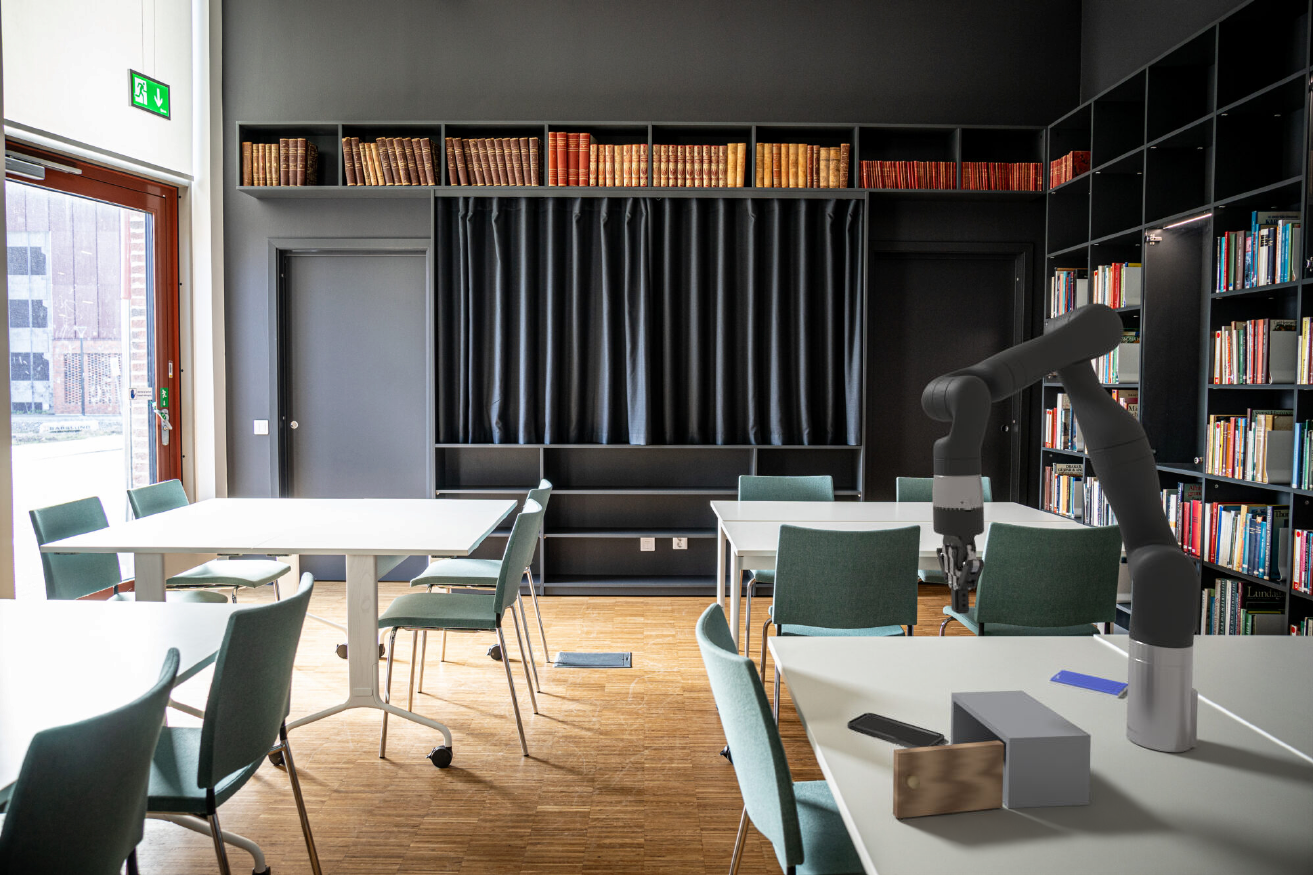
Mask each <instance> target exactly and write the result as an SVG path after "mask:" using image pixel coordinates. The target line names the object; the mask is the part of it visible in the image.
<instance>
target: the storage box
mask: <svg viewBox="0 0 1313 875" xmlns="http://www.w3.org/2000/svg"><path fill="white" fill-rule="evenodd" d="M950 697H951V698H950V699H951V700H950V704H951V706H950V745H953V744H965V743H976V742H988V741H1000V742H1001V743H1003V744H1004V755H1003V805H1004V806H1005V807H1006V808H1007V809H1018V808H1021V809H1023V808H1038V807H1039V808H1042V807H1063V806H1086V805H1090V788H1091V787H1090V785H1091V784H1090V781H1091V779H1090V776H1091V742H1092V741H1091V738H1092V734H1090V733H1088V732H1087V731H1085V730H1084V729H1082V728H1080V727H1078V726H1077V725H1076V724H1075V723H1073V722H1071V721H1070V720H1068V719H1067V718H1065V717H1063V716H1062V715H1061V714H1059V713H1058V712H1056V711H1054V710H1053V709H1052V708H1050V707H1048V706H1047V705H1046V704H1044V703H1042V702H1041V701H1040V700H1037V699H1035V698H1034V697H1033V696H1031V695H1030V694H1028V693H1027V692H1025V691H1023V690H997V691H970V692H969V691H967V692H965V691H963V692H960V691H959V692H958V691H957V692H951V696H950Z"/></svg>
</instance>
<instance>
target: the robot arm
mask: <svg viewBox="0 0 1313 875" xmlns="http://www.w3.org/2000/svg"><path fill="white" fill-rule="evenodd" d="M1123 325H1124V324H1123V320H1122V319H1121V317H1120V315H1119V314H1118V312H1117V311H1116V310H1115V309H1114V308H1112V307H1111V306H1109V305H1107V304H1104V303H1099V302H1097V303H1096V302H1094V303H1088V304H1085V305H1082V306H1079V307H1077V308H1074V309H1072V310H1069V311H1068V312H1064V313H1061V314H1060V315H1058V316H1057V315H1056V316H1055V317H1053V318H1051V319H1050V320H1049V321H1048V322H1047V324H1046V325H1045V327H1044V330H1043V335H1041V336H1038V337H1036V338H1033V339H1030V340H1028V341H1025V342H1022V343H1020V344H1017V345H1014V346H1012V347H1009V348H1007V349H1005V350H1003V351H1000V352H998V353H996V354H993V355H992V356H990V357H988V358H985V359H984V360H982V361H981V362H979V363H977V364H974V365H972V366H969V367H965V368H964V367H963V368H962V369H958V370H955V371H952V372H949V373H946V374H944V375H941V376H938V377H936V378H935V379H933V380H932V381H930V383H928V384H927V385H926V387H925V388H924V390H923V392H922V396H921V406H922V409H923V411H924V413H925V414H926V415H927V416H928V417H929V418H931V419H932V420H935V421H938V422H952V424H951V425H952V426H951V428H950V432H949V434H948V435H947V436H944V437H941V438H939V439H937V440H936V441H935V442H934V444H933V484H932V522H933V523H932V524H933V532H935V534H938V535H940V536H941V535H942V545H941V546H942V547H936V555H937V556H936V557H937V559H938V562H939V565H940V569H941V572H942V576H943V579H944V581H945V582H948V587H949V588H950V592H951V593H950V596H951V598H950V599H951V611H952V612H953V613H956V614H959V615H960V614H963V615H964V614H968V613H969V612H970V597H969V596H970V593H969V590H971V589H976V588H977V585H978V583H979V580H980V578H981V575H982V573H983V570H984V567H985V562H984V559H982V558H981V559H980V558H979V559H978V558H977V545H976V540H975V537H976V536H978V535H982V534H983V533H984V532H985V513H984V512H985V510H984V509H985V505H984V500H985V499H984V484H983V480H982V463H981V462H982V455H981V454H982V451H981V449H982V444H983V441H984V439H985V434H986V431H987V430H986V429H987V425H988V422H989V418H990V414H991V409H992V403H997V402H1000V401H1003V400H1005V399H1007V398H1009V397H1011V396H1012V395H1013V396H1014V395H1015V394H1017V393H1019V392H1020V391H1022V390H1024V389H1026V388H1028V387H1029V386H1032V385H1033V384H1036V383H1037V382H1038V381H1041V380H1042V379H1044V378H1046V377H1048V376H1050V375H1052V374H1053V373H1056V375H1057V377H1058V379H1059V382H1060V383H1061V385H1062V387H1063V389H1064V390H1063V391H1065V393H1066V397H1067V398H1068V401H1069V402H1070V407H1071V408H1072V411H1073V414H1074V416H1075V419H1076V421H1077V423H1078V424H1077V425H1078V426H1079V429H1080V432H1081V435H1082V438H1083V441H1084V446H1085V448H1086V451H1087V454H1088V458H1089V460H1090V463H1091V466H1092V469H1093V472H1094V474H1095V476H1096V479H1097V481H1098V484H1099V486H1100V488H1101V491H1102V493H1103V494H1104V496H1105V498H1106V501H1107V503H1108V505H1109V507H1110V508H1111V511H1112V513H1113V515H1114V516H1115V519H1116V522H1117V524H1118V527H1119V532H1120V535H1121V539H1122V540H1121V541H1122V543H1123V548H1124V551H1125V557H1126V563H1127V568H1128V573H1129V577H1130V578H1131V581H1132V590H1131V591H1132V592H1131V593H1132V594H1131V614H1130V615H1131V616H1130V620H1129V622H1128V623H1129V624H1128V657H1127V658H1128V660H1127V662H1128V664H1127V684H1128V689H1127V695H1126V696H1127V699H1126V700H1127V701H1126V730H1125V731H1126V737H1127V738H1128V740H1130V741H1131V742H1133V743H1134V744H1136V745H1138V746H1142V747H1143V748H1147V749H1151V750H1155V751H1161V752H1169V753H1182V752H1186V751H1189V750H1190V749H1191V748H1197V741H1198V740H1197V739H1198V736H1197V735H1198V733H1197V732H1198V705H1199V704H1198V702H1199V700H1198V699H1199V698H1198V697H1199V693H1198V692H1199V691H1198V690H1197V689H1195V688H1194V687H1193V679H1194V678H1193V674H1194V673H1193V672H1194V671H1193V670H1194V642H1195V641H1194V639H1195V638H1194V637H1195V633H1196V629H1197V626H1198V609H1199V589H1200V588H1199V586H1200V585H1199V584H1200V583H1199V574H1198V569H1197V567H1196V565H1195V563H1194V562H1193V561H1192V560H1191V558H1189V556H1187V554H1185V553H1184V551H1183V550H1182V548H1181V546H1180V544H1179V542H1178V540H1177V538H1176V536H1175V534H1174V532H1173V530H1172V529H1173V528H1172V527H1171V525H1170V523H1169V521H1168V518H1167V515H1166V512H1165V509H1164V506H1163V505H1164V504H1163V500H1162V499H1163V498H1162V493H1161V490H1162V489H1161V484H1160V479H1159V478H1160V477H1159V473H1158V469H1157V464H1156V460H1155V457H1154V454H1153V451H1152V448H1151V444H1150V442H1149V439H1148V436H1147V434H1146V431H1145V429H1144V427H1143V425H1142V424H1141V422H1140V421H1139V420H1138V419H1137V418H1136V417H1135V415H1133V414H1132V413H1131V412H1130V411H1129V410H1128V409H1127V408H1125V407H1124V406H1123V405H1122V404H1121V403H1119V402H1118V401H1117V400H1116V399H1114V397H1113V396H1111V394H1110V393H1108V392H1107V390H1106V389H1105V388H1104V386H1103V385H1102V383H1101V382H1100V380H1099V377H1098V376H1097V373H1096V371H1095V369H1094V366H1093V364H1092V360H1093V361H1094V360H1096V359H1098V358H1101V357H1104V356H1107V355H1108V354H1110V353H1112V352H1113V351H1115V350H1116V348H1118V347H1119V346H1120V344H1121V342H1122V340H1123V338H1124V326H1123Z"/></svg>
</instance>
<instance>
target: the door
mask: <svg viewBox="0 0 1313 875" xmlns="http://www.w3.org/2000/svg"><path fill="white" fill-rule="evenodd" d="M1003 755H1004V744H1003V743H1001V742H1000V741H988V742H976V743H965V744H953V745H951V744H944V745H938V746H936V745H934V746H930V747H919V748H897V749H893V770H892V771H893V774H892V778H893V781H892V788H893V790H892V793H893V794H892V815H893V816H894V817H895V818H896V819H903V818H912V817H913V818H914V817H922V816H930V815H931V816H932V815H939V814H940V815H941V814H950V813H959V812H960V813H961V812H968V811H969V812H971V811H978V810H979V811H980V810H989V809H998V808H1003V805H1004V804H1003Z"/></svg>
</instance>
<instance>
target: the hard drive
mask: <svg viewBox="0 0 1313 875" xmlns="http://www.w3.org/2000/svg"><path fill="white" fill-rule="evenodd" d="M1049 684H1051V685H1055V686H1056V685H1057V686H1061V687H1064V688H1070V689H1073V690H1078V691H1083V692H1088V693H1092V694H1097V695H1100V696H1106V697H1110V698H1114V699H1119V698H1120V697H1121V696H1122V695H1123V694H1124V693H1125V692H1126V691H1128V682H1127V683H1126V682H1121V681H1116V680H1111V679H1107V678H1103V677H1097V676H1094V675H1093V676H1092V675H1089V674H1083V673H1078V672H1074V671H1071V670H1070V671H1069V670H1066V669H1062V670H1060V671H1059V672H1057V673H1056V674H1054V675H1053V676H1052V677H1050V679H1049Z"/></svg>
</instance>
